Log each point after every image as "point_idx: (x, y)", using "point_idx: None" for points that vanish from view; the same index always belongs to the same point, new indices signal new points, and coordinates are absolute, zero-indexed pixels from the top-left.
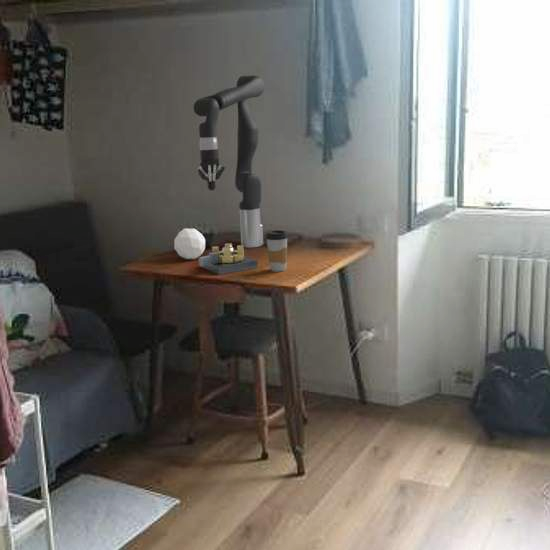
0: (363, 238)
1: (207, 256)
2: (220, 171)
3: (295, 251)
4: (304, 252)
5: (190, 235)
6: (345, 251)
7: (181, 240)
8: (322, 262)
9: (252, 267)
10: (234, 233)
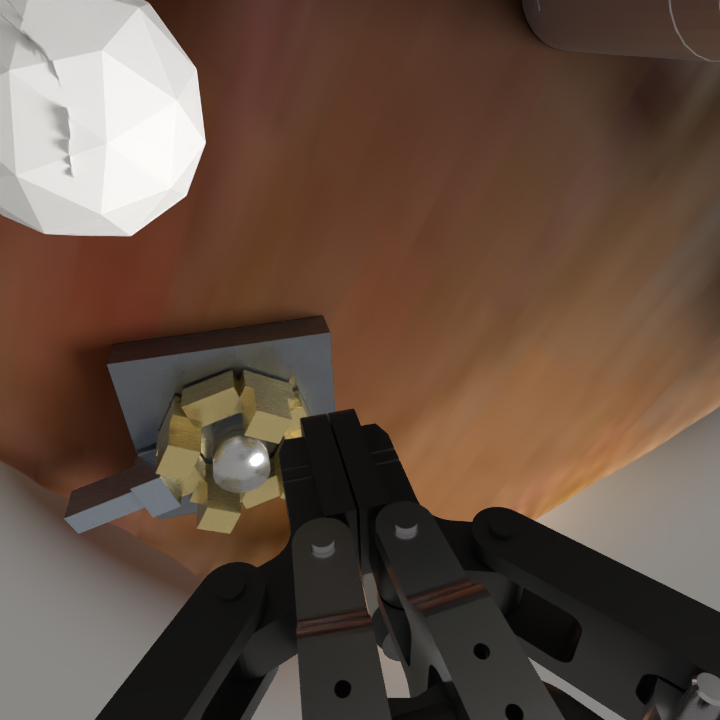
0: None
1: (114, 509)
2: (616, 706)
3: (612, 281)
4: (618, 319)
5: (54, 225)
6: (706, 380)
7: None
8: (540, 480)
9: None
10: None
